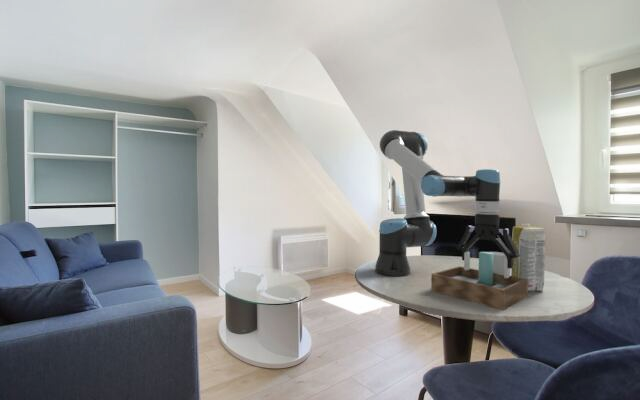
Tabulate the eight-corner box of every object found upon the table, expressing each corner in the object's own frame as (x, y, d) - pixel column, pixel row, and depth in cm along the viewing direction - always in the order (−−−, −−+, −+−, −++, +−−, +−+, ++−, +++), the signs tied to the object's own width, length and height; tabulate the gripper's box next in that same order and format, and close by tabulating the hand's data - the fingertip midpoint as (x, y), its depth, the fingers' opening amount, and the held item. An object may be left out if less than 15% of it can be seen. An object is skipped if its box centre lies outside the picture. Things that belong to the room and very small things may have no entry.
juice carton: (532, 285, 121) (533, 222, 120) (547, 292, 113) (549, 225, 112) (508, 285, 121) (509, 222, 120) (521, 291, 113) (523, 224, 112)
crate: (431, 290, 113) (431, 273, 113) (459, 281, 126) (459, 266, 126) (503, 310, 95) (503, 290, 95) (527, 296, 107) (528, 279, 107)
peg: (481, 289, 115) (482, 251, 115) (494, 292, 112) (495, 253, 111) (475, 292, 112) (476, 252, 112) (489, 295, 109) (490, 254, 108)
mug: (510, 287, 118) (511, 255, 117) (491, 286, 119) (492, 254, 119) (500, 280, 128) (501, 250, 127) (482, 279, 129) (483, 250, 129)
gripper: (448, 211, 119) (447, 268, 119) (523, 216, 99) (521, 283, 100) (458, 211, 123) (457, 265, 124) (531, 215, 104) (530, 279, 104)
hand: (485, 273), depth 112 cm, fingers open, 13 cm apart
